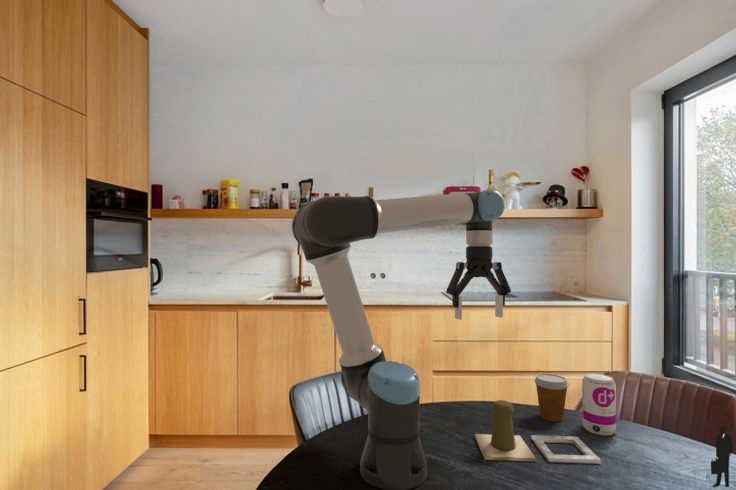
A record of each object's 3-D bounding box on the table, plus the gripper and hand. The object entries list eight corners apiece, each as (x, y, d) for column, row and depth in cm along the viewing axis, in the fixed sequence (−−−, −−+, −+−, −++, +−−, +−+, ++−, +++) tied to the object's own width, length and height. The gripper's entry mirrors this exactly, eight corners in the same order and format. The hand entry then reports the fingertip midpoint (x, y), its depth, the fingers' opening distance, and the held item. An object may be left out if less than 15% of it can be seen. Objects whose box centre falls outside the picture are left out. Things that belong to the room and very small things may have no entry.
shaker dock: (548, 462, 97) (548, 457, 97) (531, 438, 109) (531, 435, 109) (600, 463, 96) (600, 459, 96) (577, 440, 108) (577, 436, 108)
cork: (485, 444, 104) (485, 401, 104) (498, 437, 107) (499, 395, 108) (507, 453, 99) (507, 408, 99) (520, 445, 103) (520, 402, 103)
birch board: (484, 459, 97) (484, 456, 97) (474, 437, 109) (474, 434, 109) (535, 461, 97) (535, 458, 97) (519, 438, 109) (520, 435, 109)
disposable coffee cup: (528, 412, 127) (528, 373, 127) (555, 410, 128) (555, 372, 129) (547, 425, 117) (546, 383, 118) (576, 422, 119) (576, 381, 119)
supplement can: (620, 438, 109) (620, 382, 110) (587, 435, 111) (587, 380, 111) (609, 425, 117) (609, 373, 118) (578, 422, 119) (578, 371, 119)
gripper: (507, 246, 126) (507, 314, 126) (434, 245, 119) (434, 317, 119) (523, 245, 119) (523, 318, 119) (446, 244, 112) (446, 321, 112)
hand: (479, 318), depth 119 cm, fingers open, 13 cm apart
